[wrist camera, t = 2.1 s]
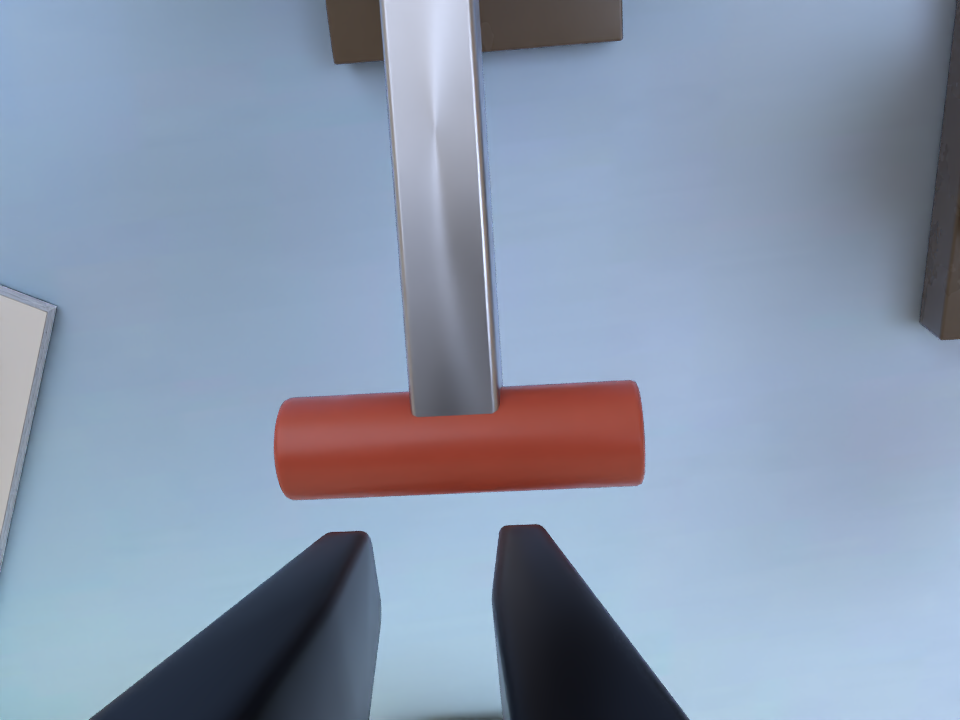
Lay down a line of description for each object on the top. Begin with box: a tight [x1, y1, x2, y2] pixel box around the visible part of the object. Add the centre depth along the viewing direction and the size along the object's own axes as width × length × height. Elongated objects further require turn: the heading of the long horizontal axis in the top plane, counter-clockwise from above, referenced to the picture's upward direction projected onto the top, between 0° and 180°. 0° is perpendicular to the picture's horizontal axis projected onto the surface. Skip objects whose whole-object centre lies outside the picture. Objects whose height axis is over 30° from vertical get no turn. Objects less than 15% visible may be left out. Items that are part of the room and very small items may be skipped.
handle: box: [274, 0, 645, 500], centre depth 10 cm, size 11×4×2 cm, turn 5°
